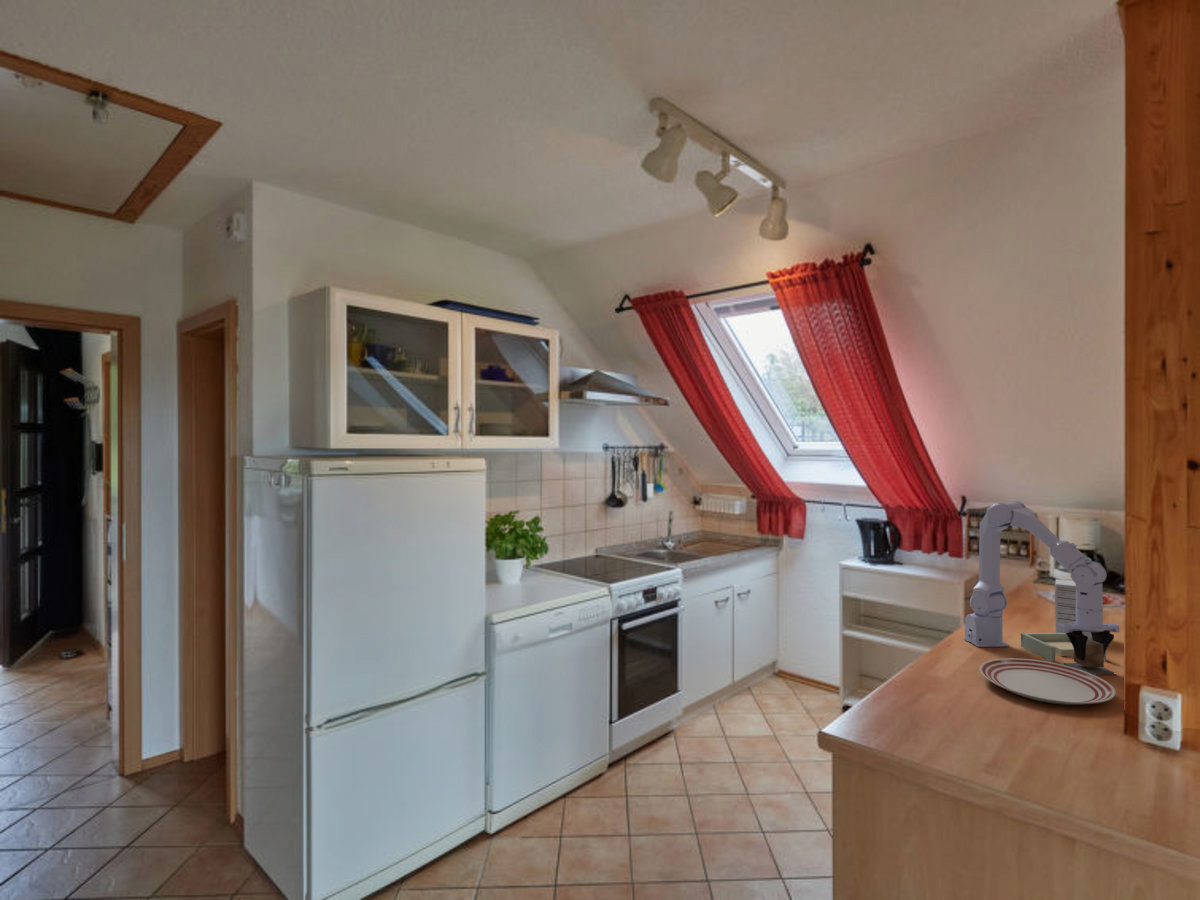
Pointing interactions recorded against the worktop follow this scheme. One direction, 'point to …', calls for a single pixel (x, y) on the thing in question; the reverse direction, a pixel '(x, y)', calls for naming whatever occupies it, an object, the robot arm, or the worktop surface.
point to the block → (1092, 655)
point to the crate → (1048, 644)
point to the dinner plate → (1047, 681)
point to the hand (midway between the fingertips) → (1089, 658)
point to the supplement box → (1066, 604)
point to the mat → (1090, 669)
